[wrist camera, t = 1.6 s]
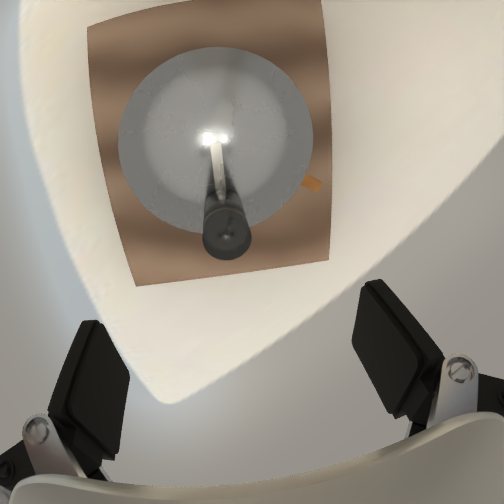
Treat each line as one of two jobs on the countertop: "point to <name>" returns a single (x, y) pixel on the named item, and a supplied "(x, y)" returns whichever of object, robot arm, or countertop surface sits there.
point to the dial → (216, 144)
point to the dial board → (196, 37)
